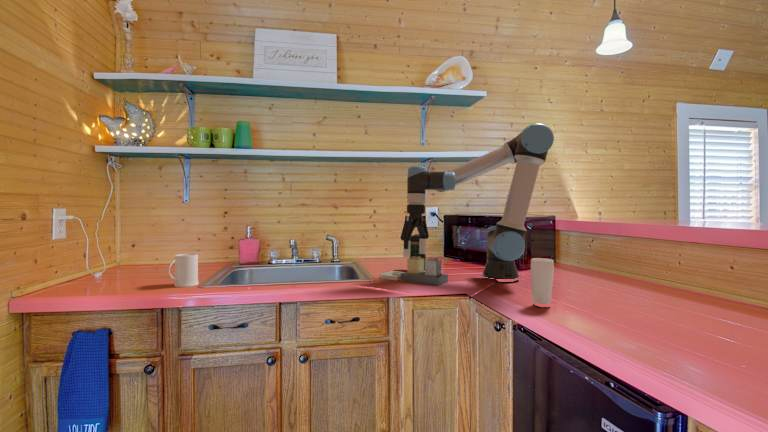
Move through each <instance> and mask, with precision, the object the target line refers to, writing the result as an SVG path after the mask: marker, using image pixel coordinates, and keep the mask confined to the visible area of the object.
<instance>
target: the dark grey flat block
mask: <svg viewBox="0 0 768 432" xmlns="http://www.w3.org/2000/svg"><path fill="white" fill-rule="evenodd" d="M403 272H404V273H401V280H400V282H405V283H406V282H407V283H414V284H419V285H420V284H421V285H427V286H428V285H429V286H437V287H440V286H442V285H444V284H446V283H448V282H449V274H445V273H441V276H439V277H431V276H425V272H424V274H420V275H414V274H407V271H403Z"/></svg>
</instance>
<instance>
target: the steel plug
mask: <svg viewBox="0 0 768 432" xmlns="http://www.w3.org/2000/svg"><path fill="white" fill-rule="evenodd" d="M442 261H443V260H442V259H439V258H438V257H429V258H428V259H426V260H425V276H431V277H439V276H441V274H442V266H443V264H442Z"/></svg>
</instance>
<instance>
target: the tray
mask: <svg viewBox="0 0 768 432" xmlns="http://www.w3.org/2000/svg"><path fill="white" fill-rule="evenodd" d="M404 272H405V271H398V270H397V271H395V270H391V271H387V272H383V273H380V274H379V276H378V278H379V279H382V280H389V281H391V280H392V281H401V273H404Z"/></svg>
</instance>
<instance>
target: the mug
mask: <svg viewBox="0 0 768 432" xmlns="http://www.w3.org/2000/svg"><path fill="white" fill-rule="evenodd" d="M173 264H174V276H173V275H172V273H171V270H170V269H171V267H172V265H173ZM167 274H168V275H169V277H170V278H171V279H172V280H174V284H173V285H174V287H176V288H187V287H188V288H189V287H190V288H191V287H196V286H198V285H199V284H200V283H199V255H198V253H180V254H179V253H178V254H175V255H174V260H172V261H171V262H170V263H169V264H168V267H167Z"/></svg>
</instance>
